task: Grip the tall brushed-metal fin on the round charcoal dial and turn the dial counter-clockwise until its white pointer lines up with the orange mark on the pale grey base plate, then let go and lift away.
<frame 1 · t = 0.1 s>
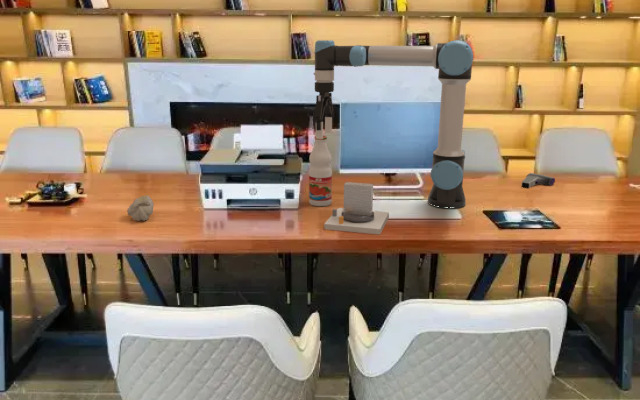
hand: (323, 135, 215), 28 cm above the table, fingers open, 13 cm apart
dial plate: (357, 223, 198), on the table
dial knob: (358, 200, 196), point 9 cm above the table, hinge at 0.0°
fruit juice: (320, 204, 222), on the table
fossil replica: (142, 218, 203), on the table
infrared thermometer: (537, 187, 251), on the table
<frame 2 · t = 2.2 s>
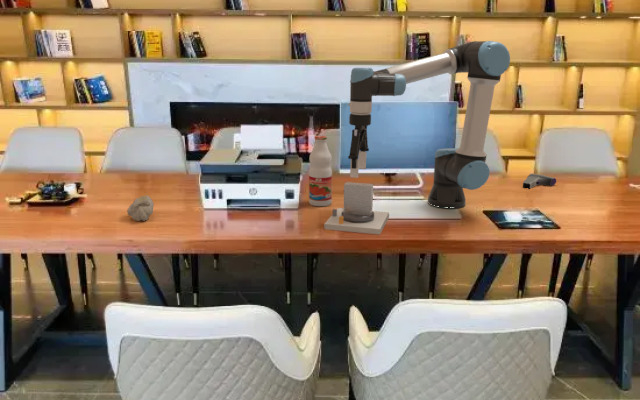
hand: (358, 173, 193), 19 cm above the table, fingers open, 13 cm apart
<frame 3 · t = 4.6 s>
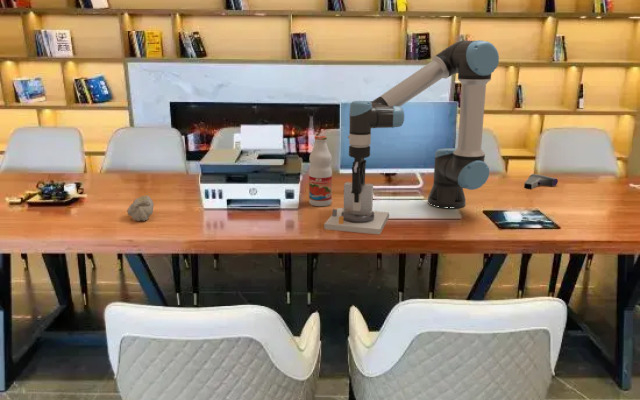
hand: (358, 208, 197), 6 cm above the table, fingers closed on dial knob, 3 cm apart
dial knob: (358, 200, 196), point 9 cm above the table, hinge at 0.0°, touching gripper
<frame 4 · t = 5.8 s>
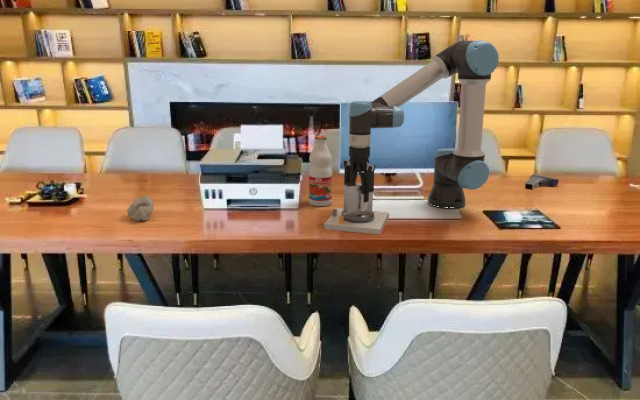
hand: (358, 208, 197), 6 cm above the table, fingers closed on dial knob, 5 cm apart
dial knob: (358, 200, 196), point 9 cm above the table, hinge at 37.5°, touching gripper
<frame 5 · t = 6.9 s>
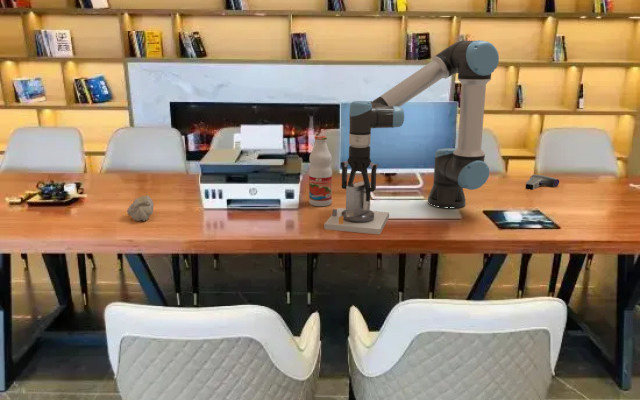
hand: (358, 208, 197), 6 cm above the table, fingers closed on dial knob, 5 cm apart
dial knob: (358, 200, 196), point 9 cm above the table, hinge at 65.1°, touching gripper
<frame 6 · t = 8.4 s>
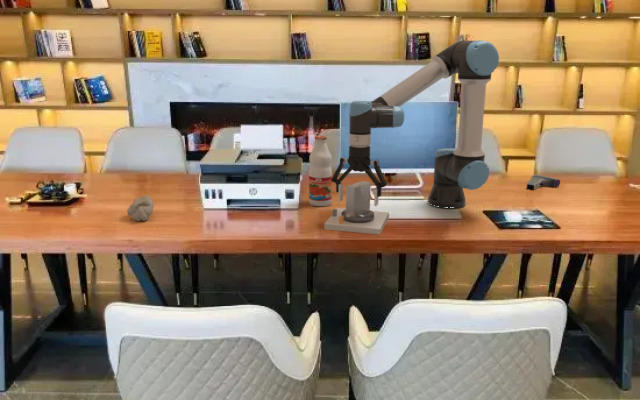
hand: (358, 203, 196), 8 cm above the table, fingers open, 13 cm apart
dial knob: (358, 200, 196), point 9 cm above the table, hinge at 65.5°
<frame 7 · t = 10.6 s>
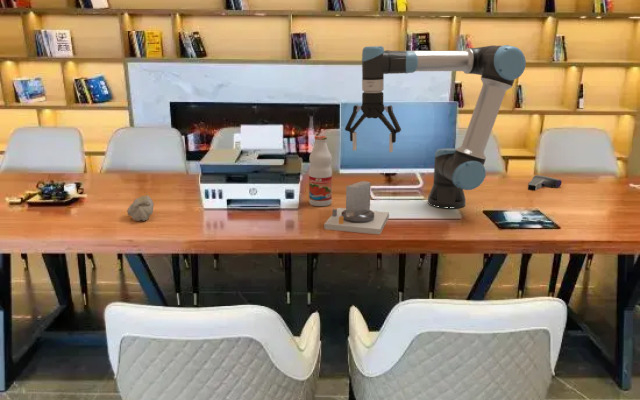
hand: (372, 150, 196), 26 cm above the table, fingers open, 13 cm apart
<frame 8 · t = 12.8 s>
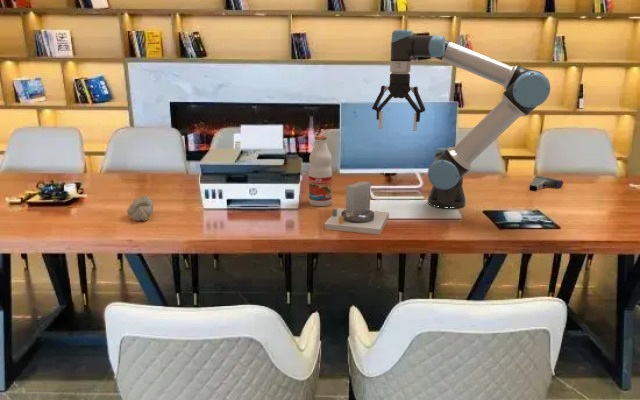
hand: (397, 129, 208), 32 cm above the table, fingers open, 13 cm apart
at the end: dial knob at +66° (first picture: +0°); the gripper is holding nothing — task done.
